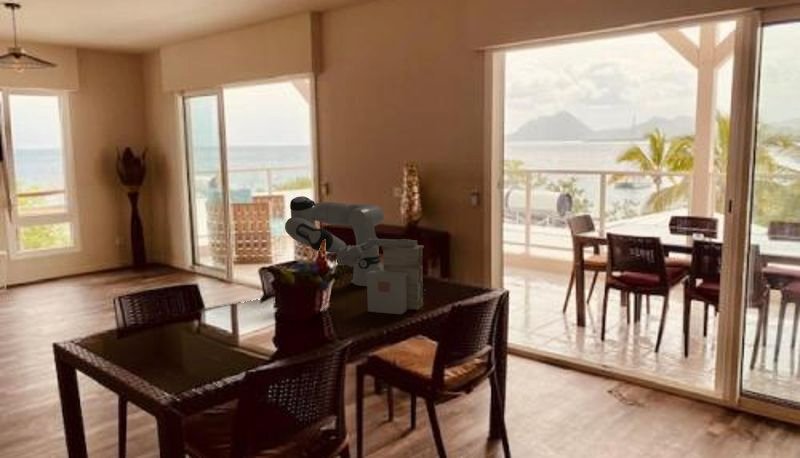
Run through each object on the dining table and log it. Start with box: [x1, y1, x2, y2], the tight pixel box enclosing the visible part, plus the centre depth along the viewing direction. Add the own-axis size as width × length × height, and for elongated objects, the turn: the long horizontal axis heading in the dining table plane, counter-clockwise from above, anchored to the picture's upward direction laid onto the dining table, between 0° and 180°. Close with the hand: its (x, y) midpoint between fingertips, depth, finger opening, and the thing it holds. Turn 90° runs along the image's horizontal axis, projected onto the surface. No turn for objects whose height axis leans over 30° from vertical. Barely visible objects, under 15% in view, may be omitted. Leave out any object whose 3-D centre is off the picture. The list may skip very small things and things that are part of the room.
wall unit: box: [381, 244, 425, 311], centre depth 256 cm, size 8×16×26 cm, turn 70°
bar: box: [366, 238, 418, 247], centre depth 256 cm, size 22×3×3 cm, turn 70°
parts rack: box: [365, 271, 408, 315], centre depth 250 cm, size 7×16×16 cm, turn 70°
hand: (375, 241), depth 259 cm, fingers closed on bar, 3 cm apart
